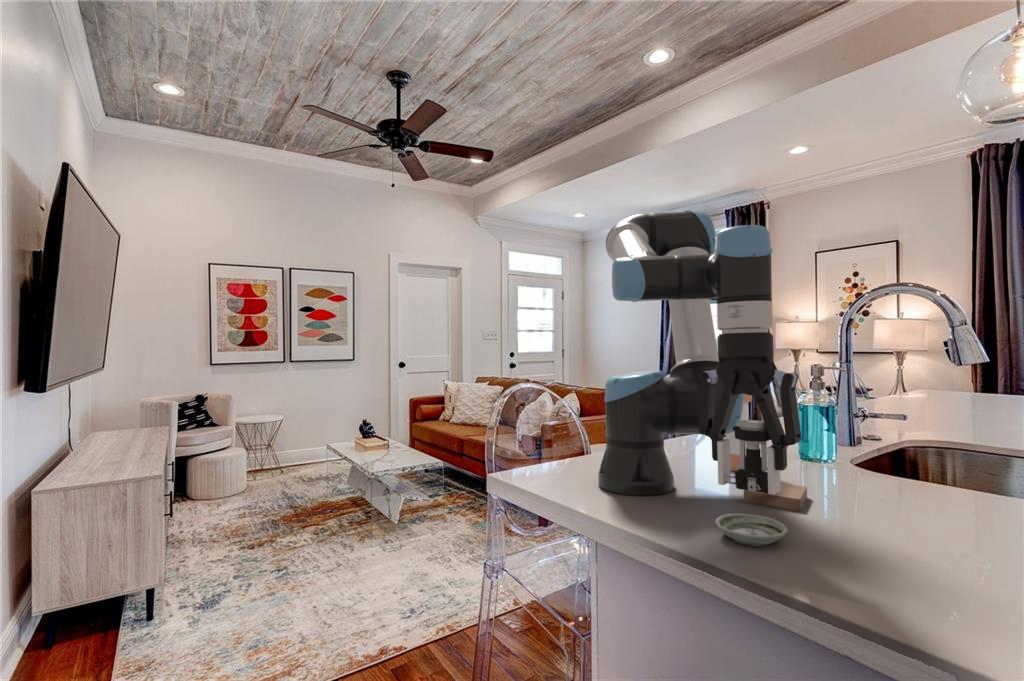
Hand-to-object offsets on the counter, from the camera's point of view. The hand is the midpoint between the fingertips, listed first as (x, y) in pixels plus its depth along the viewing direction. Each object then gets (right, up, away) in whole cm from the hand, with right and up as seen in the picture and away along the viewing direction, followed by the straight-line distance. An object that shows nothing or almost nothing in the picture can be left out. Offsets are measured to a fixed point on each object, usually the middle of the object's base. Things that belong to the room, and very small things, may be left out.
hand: (748, 487), depth 75 cm
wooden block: (+13, -8, +18) cm, 24 cm away
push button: (0, 0, 0) cm, 0 cm away
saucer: (0, -8, 0) cm, 8 cm away
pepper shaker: (+17, -8, +42) cm, 46 cm away
